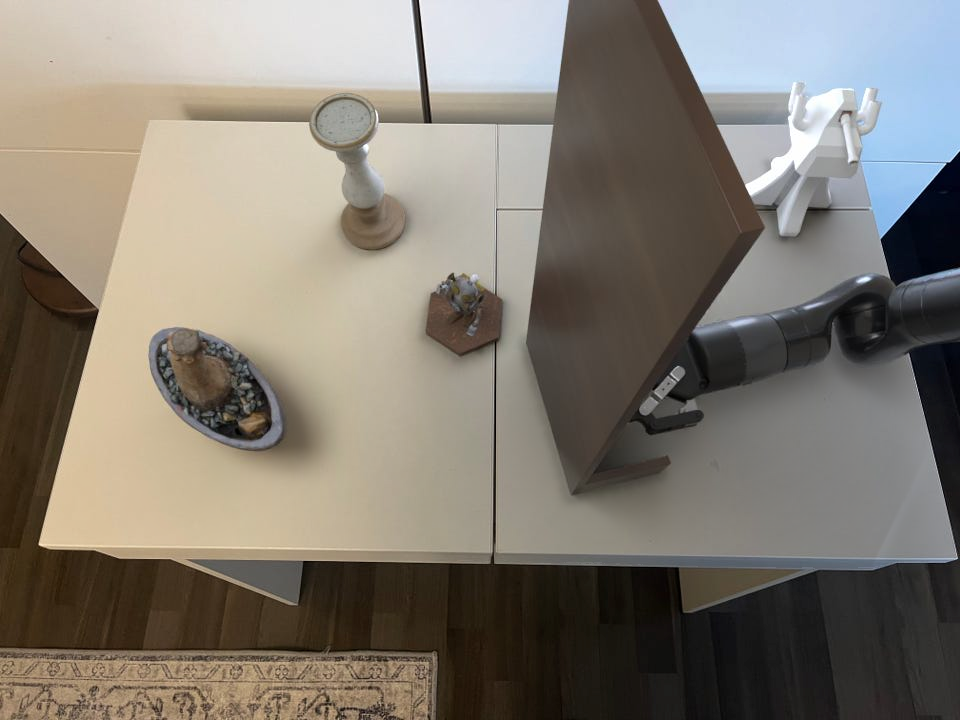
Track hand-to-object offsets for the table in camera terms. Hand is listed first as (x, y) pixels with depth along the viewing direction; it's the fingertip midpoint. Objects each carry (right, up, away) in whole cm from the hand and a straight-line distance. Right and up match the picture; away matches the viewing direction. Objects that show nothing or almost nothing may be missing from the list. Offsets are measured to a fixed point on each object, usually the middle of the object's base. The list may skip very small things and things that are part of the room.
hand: (592, 386), depth 73 cm
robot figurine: (-15, +8, +12) cm, 21 cm away
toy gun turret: (+29, +25, +18) cm, 42 cm away
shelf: (+1, -3, +7) cm, 8 cm away
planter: (-42, -3, +8) cm, 43 cm away
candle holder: (-27, +22, +17) cm, 39 cm away
